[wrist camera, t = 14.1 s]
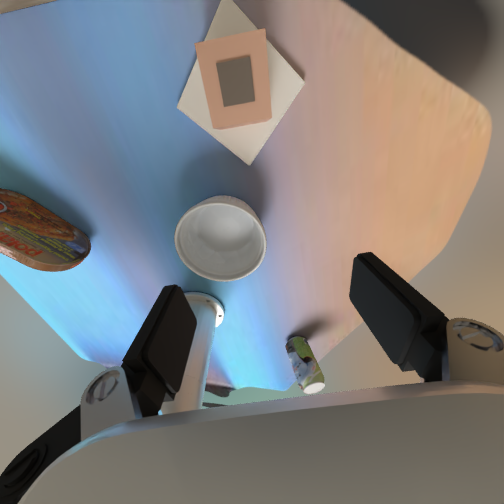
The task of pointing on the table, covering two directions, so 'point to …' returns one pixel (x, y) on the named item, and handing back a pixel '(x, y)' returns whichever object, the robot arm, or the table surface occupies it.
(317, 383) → the beverage can
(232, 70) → the marked cube
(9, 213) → the tin
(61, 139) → the table surface
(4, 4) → the wooden plank
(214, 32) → the display tile
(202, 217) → the ramekin
